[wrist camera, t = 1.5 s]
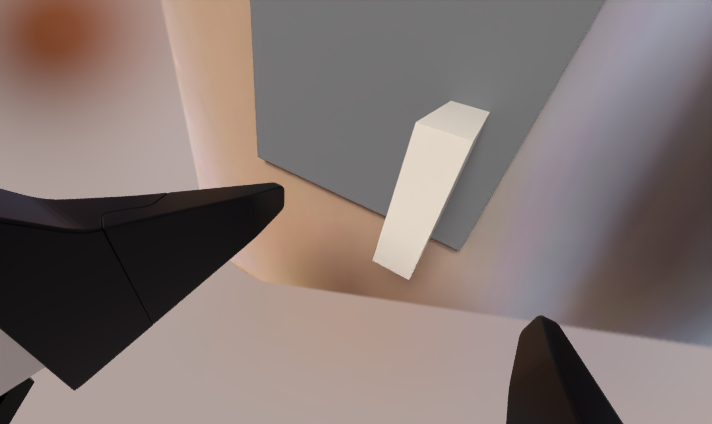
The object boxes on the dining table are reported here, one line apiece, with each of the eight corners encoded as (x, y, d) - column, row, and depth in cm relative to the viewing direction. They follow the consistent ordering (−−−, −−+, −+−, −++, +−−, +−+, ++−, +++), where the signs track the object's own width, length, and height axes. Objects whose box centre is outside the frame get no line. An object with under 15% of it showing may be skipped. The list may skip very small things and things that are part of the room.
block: (451, 100, 13) (415, 122, 9) (489, 112, 13) (473, 141, 8) (410, 208, 18) (372, 260, 13) (438, 221, 17) (409, 280, 12)
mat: (638, -63, 9) (646, -72, 8) (461, 244, 18) (459, 251, 17) (256, -93, 15) (245, -100, 14) (264, 154, 23) (257, 156, 23)
